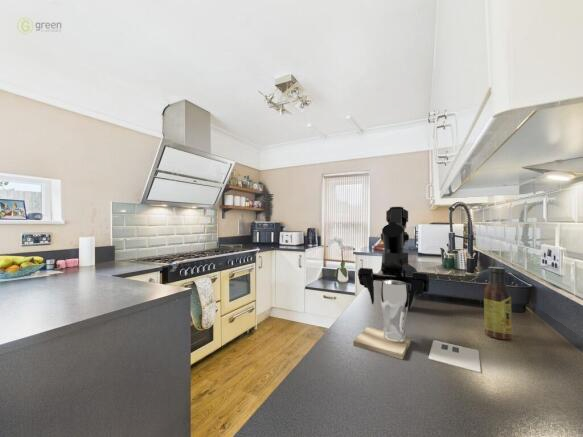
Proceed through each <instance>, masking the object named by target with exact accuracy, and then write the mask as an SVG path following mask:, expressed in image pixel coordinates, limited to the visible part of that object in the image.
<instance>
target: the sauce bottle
mask: <svg viewBox="0 0 583 437" xmlns="http://www.w3.org/2000/svg"><path fill="white" fill-rule="evenodd" d="M487 273H488V283H487V284H486V285H485V287H484V290H483V295H484V297H483V324H484V325H483V327H484V333H485V334H486V335H487V336H489V337H490V336H491V338H494V339H499V340H505V339H506V340H510V339H512V333H513V330H512V329H513V327H512V326H513V324H512V295H511V292H510V291H509V289H508V287H507V284H506V275H505V274H506V268H505V267H502V266H501V267H500V266H487Z"/></svg>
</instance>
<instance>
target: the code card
mask: <svg viewBox="0 0 583 437" xmlns="http://www.w3.org/2000/svg"><path fill="white" fill-rule="evenodd" d="M427 359H428V360H431V361H435V362H438V363H442V364H445V365H450V366H453V367H456V368H460V369H463V370H469V371H471V372H475V373H478V374H481V373H482V372H481V371H482V370H481V362H480V352H479V349H474V348H470V347H465V346H461V345H457V344H451V343H449V342H444V341H439V340H435V339H433V340H432V344H431V348H430V351H429V355H428V358H427Z"/></svg>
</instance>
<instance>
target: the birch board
mask: <svg viewBox="0 0 583 437" xmlns="http://www.w3.org/2000/svg"><path fill="white" fill-rule="evenodd" d="M382 333H383V329H380V328H375V327H371V326H367V327H365V329H364V330H363V331H362V332H360V334H359V335H358V336H357V337H356V338H355V339H354V340H353V341H352V342H353V343H352V345H353V346H354V347H357V348H361V349H365V350H367V351H371V352H375V353H379V354H380V355H381V354H382V355H384V356H385V355H386V356H389V357H391V358H396V359H399V360H403V359H404V358H405V355H406V353H407V351H408V349H409V347H410V345H411V343H412V336H410V335H406V341H405V342H403V343H395V342H390V341H388V340H386V339H384V338H383V337H382Z"/></svg>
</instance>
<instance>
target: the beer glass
mask: <svg viewBox="0 0 583 437" xmlns="http://www.w3.org/2000/svg"><path fill="white" fill-rule="evenodd" d="M380 305H381V311H382V316H383V328H382V330H383V333H382V337H383V338H384V339H386V340H388V341H390V342H395V343H403V342H405V341H406V336H407V335H406V328H405V327H406V320H407V315H408V314H407V313H408V310H409V293H408V286H407V283H406V282H403V281H398V280H383V281H381V288H380Z"/></svg>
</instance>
